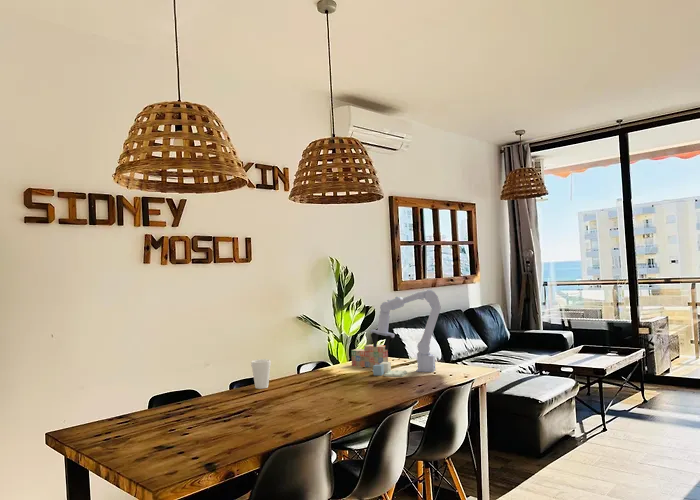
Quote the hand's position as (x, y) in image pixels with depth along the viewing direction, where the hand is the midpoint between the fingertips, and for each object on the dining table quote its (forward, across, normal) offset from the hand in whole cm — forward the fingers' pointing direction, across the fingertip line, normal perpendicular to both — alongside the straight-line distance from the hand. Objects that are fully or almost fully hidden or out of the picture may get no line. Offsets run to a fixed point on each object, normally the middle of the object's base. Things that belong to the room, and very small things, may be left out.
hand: (380, 348), depth 293 cm
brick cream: (+12, +4, +1) cm, 13 cm away
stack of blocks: (+14, -13, +13) cm, 23 cm away
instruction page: (+13, -2, +3) cm, 13 cm away
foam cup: (+22, -31, -58) cm, 69 cm away
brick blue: (+13, +5, -7) cm, 15 cm away
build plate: (+11, +13, -4) cm, 18 cm away
